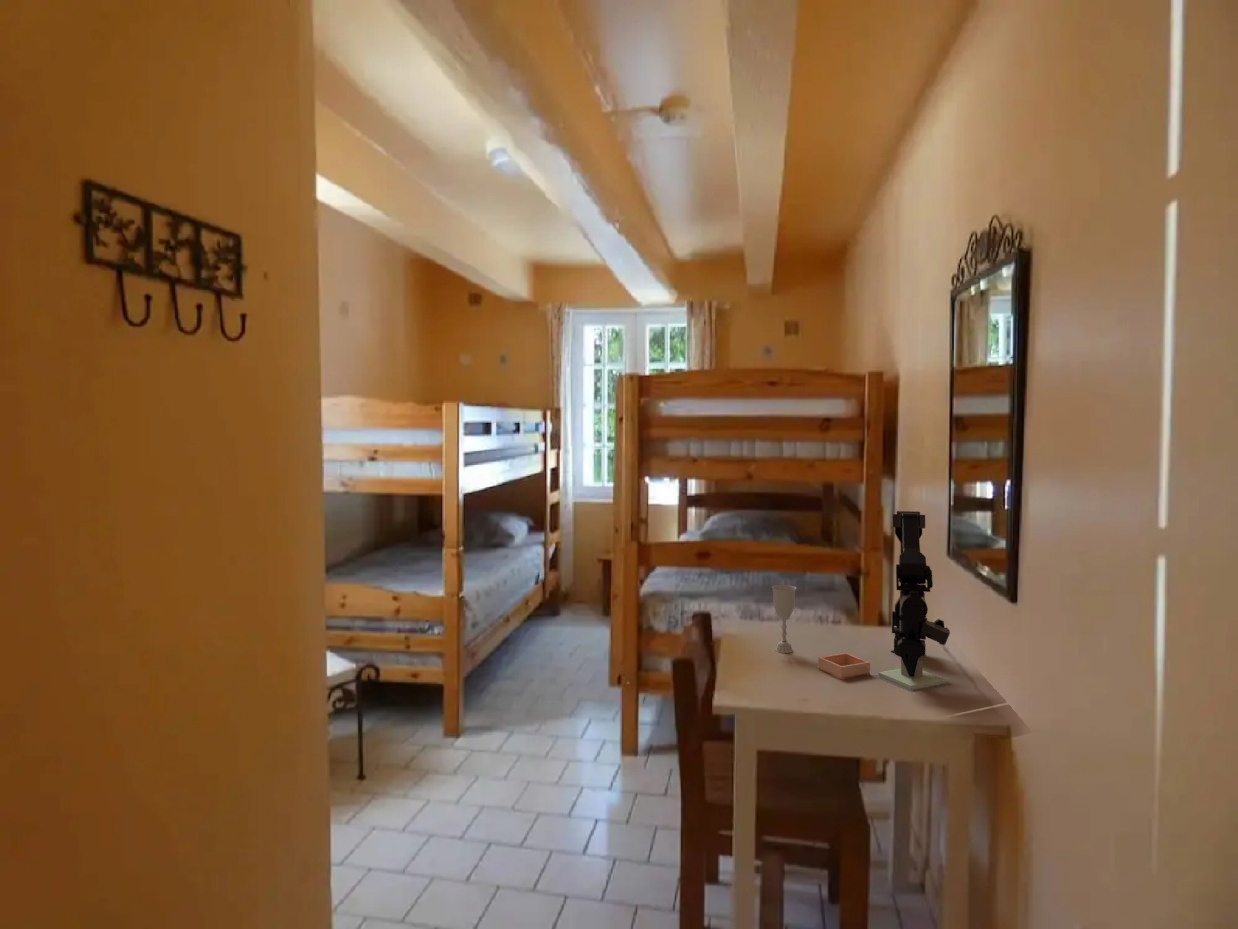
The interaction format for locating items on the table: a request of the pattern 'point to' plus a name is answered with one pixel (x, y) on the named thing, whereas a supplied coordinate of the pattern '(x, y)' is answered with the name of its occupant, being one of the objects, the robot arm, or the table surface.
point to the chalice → (784, 611)
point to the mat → (914, 689)
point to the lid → (916, 682)
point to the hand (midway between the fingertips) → (911, 673)
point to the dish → (844, 666)
